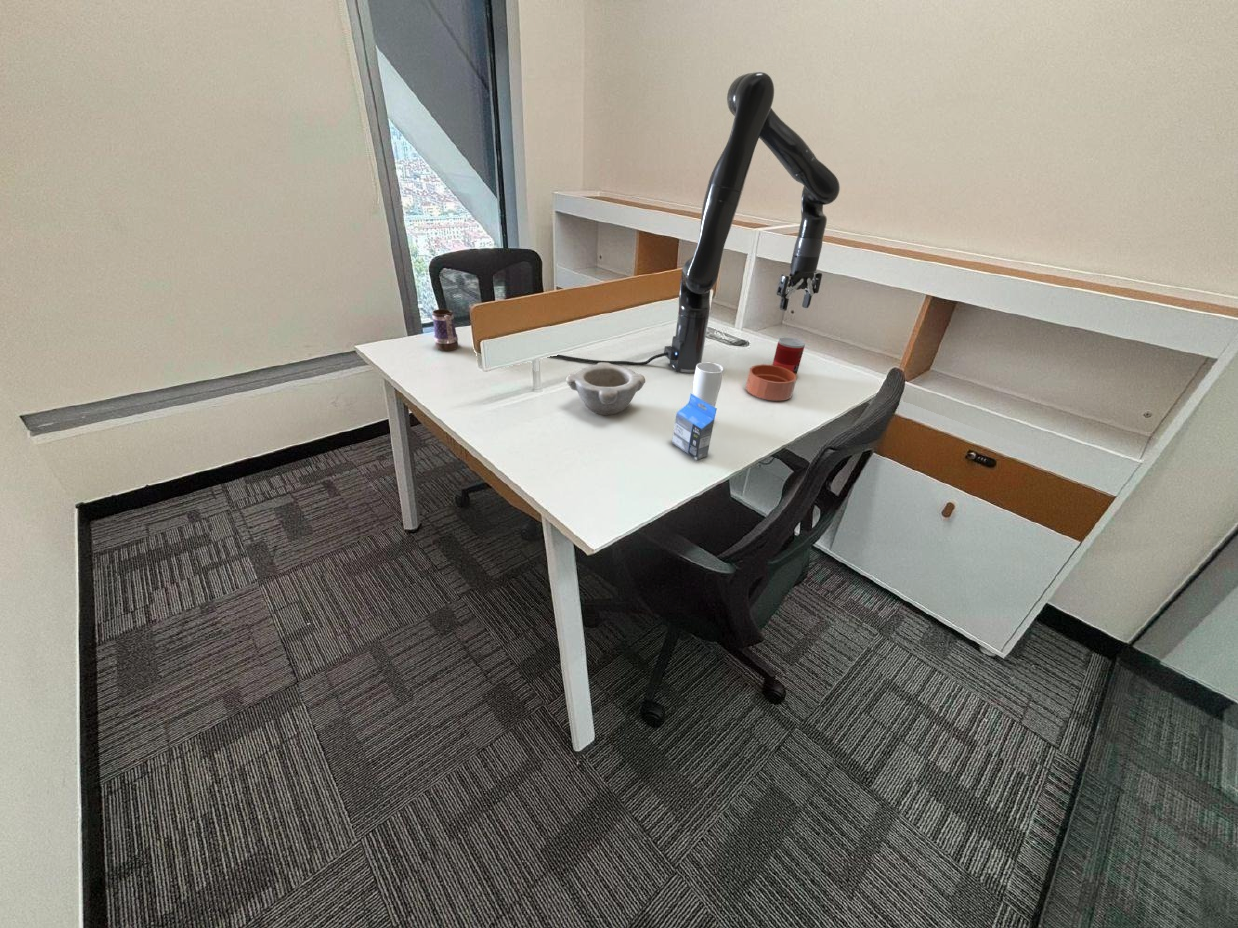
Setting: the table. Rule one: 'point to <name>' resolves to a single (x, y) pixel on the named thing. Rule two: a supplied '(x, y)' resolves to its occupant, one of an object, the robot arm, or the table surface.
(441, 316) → the mug
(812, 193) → the robot arm
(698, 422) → the blue product box
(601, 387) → the mortar
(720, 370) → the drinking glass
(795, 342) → the canned food
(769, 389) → the bowl
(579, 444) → the table surface
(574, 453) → the table surface
